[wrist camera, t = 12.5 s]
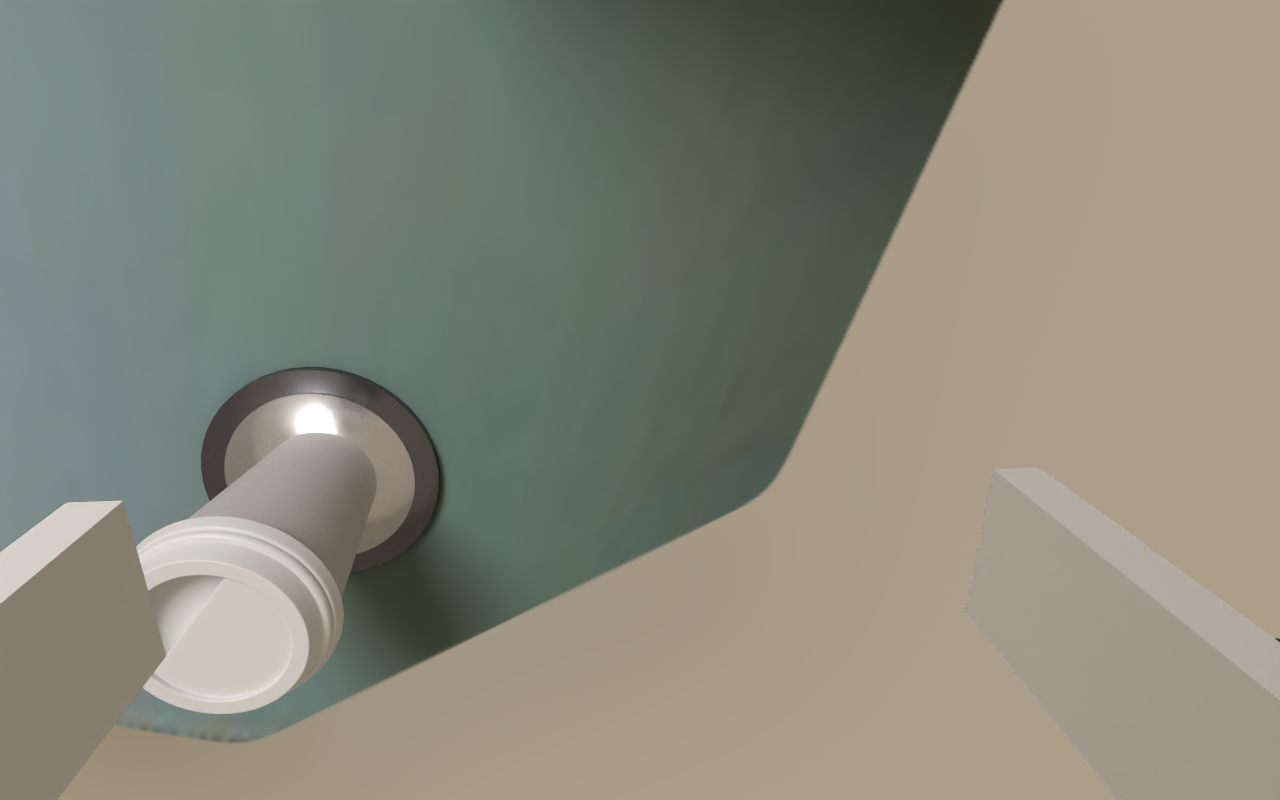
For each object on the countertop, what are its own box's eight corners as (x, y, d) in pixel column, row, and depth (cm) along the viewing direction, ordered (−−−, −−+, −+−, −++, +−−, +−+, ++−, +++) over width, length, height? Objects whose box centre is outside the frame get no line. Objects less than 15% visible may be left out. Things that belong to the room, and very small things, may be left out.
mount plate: (182, 370, 42) (175, 374, 41) (428, 363, 43) (425, 368, 43) (230, 574, 47) (224, 582, 46) (449, 563, 48) (447, 570, 47)
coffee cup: (340, 379, 42) (230, 502, 28) (432, 503, 46) (375, 668, 32) (205, 455, 43) (33, 610, 29) (305, 571, 47) (194, 761, 33)
